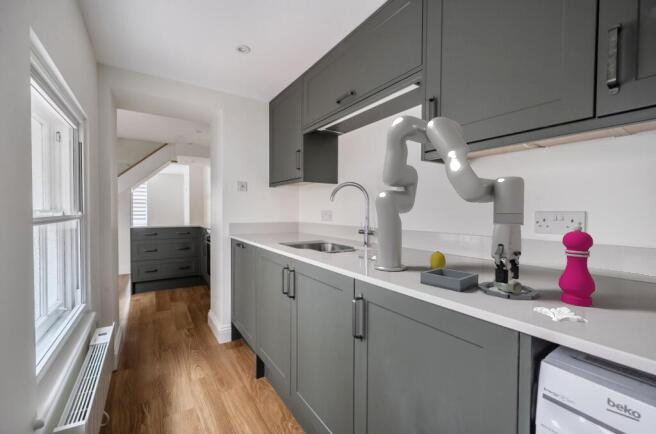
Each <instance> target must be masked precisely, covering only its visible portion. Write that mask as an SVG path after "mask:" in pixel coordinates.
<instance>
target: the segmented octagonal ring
mask: <svg viewBox="0 0 656 434" xmlns="http://www.w3.org/2000/svg"><path fill="white" fill-rule="evenodd" d="M489 287H495V286H494V285H493V281H484V282H481V283H478V285H477V286H476V289H477V290H478V291H480V292H481V293H482V294H485V295H488V296H493V297H497V298H502V299H506V300H508V299H509V300H519V301H520V300H525V301H526V300H527V301H532V300H533V301H534V300H536V298H539V297H540V296H541V292H540V291H539V290H537V289H535V288H533V287H531V286H527V285H523V284H522V290H521V291H524V292H527V293H523V294H522V293H518V294H514V293H508V292H503V291H496V290H492V289H489Z"/></svg>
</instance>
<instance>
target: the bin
mask: <svg viewBox="0 0 656 434" xmlns="http://www.w3.org/2000/svg"><path fill="white" fill-rule="evenodd" d="M419 278H420V284H422V285H427V286H431V287H436V288H440V289H444V290H447V291H449V290H450V291H453V292H458V293H461V292H464V291H466V290H469V289H472V288H475V287H477V285H478V284H479V274H478V273H473V272H468V271H461V270H457V269H456V270H455V269H449V268H445V267H444V268H437V269H433V268H432V269H429V270H425V271H422V272H420V277H419Z"/></svg>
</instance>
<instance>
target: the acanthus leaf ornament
mask: <svg viewBox="0 0 656 434" xmlns="http://www.w3.org/2000/svg"><path fill="white" fill-rule="evenodd" d="M533 311H534V312H538V313H540V314H542V315H545V316H548V317H551V318H552V319H551V320H552V321H554V322H558V323H560V322H562V321H569V322H575V323H576V322H577V323H578V322H579V323H585V324H591V323H590V321H589V320H587V319H585V318H583V317H582V316H579V315H576V312H572V310H571V309H569V308H568V307H566V306H562V307H557V308H554V307H553V308H552V307H551V309H549V308H547V307H543V306H541V307H533Z"/></svg>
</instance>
